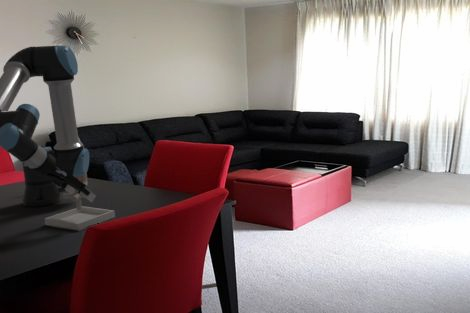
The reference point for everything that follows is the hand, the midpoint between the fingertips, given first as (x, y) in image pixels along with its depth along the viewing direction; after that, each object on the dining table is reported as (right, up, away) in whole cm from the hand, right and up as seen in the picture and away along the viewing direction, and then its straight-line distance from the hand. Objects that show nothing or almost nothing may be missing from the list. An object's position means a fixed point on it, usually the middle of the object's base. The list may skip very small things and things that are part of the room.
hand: (86, 197), depth 163 cm
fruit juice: (-23, 0, +58) cm, 62 cm away
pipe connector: (-2, -4, -2) cm, 5 cm away
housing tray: (-2, -9, -1) cm, 9 cm away
